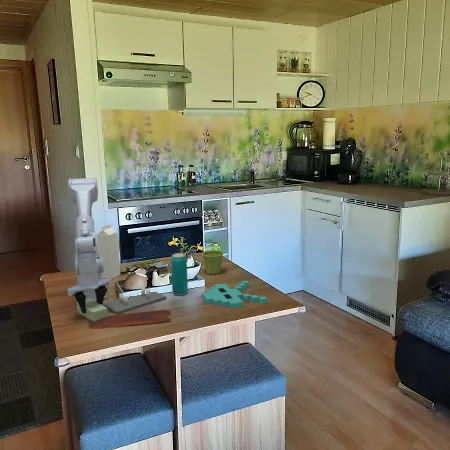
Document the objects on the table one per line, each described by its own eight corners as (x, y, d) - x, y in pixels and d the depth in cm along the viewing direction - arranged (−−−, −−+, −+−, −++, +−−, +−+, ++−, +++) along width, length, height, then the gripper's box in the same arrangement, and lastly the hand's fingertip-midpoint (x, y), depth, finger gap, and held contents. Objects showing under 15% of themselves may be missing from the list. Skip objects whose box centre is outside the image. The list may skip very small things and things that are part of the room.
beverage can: (183, 289, 174) (182, 252, 171) (190, 294, 169) (189, 255, 166) (169, 292, 171) (168, 254, 168) (176, 297, 166) (175, 258, 163)
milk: (100, 278, 189) (95, 226, 185) (108, 273, 195) (104, 223, 190) (112, 279, 187) (108, 227, 182) (120, 274, 193) (116, 224, 188)
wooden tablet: (170, 312, 155) (169, 307, 154) (172, 324, 145) (171, 319, 145) (89, 319, 150) (89, 314, 150) (85, 331, 141) (85, 326, 140)
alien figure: (246, 285, 178) (197, 292, 172) (246, 280, 177) (197, 287, 171) (266, 304, 159) (212, 312, 153) (266, 298, 159) (212, 306, 153)
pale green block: (77, 312, 155) (76, 302, 154) (91, 307, 158) (90, 298, 157) (93, 322, 146) (92, 312, 145) (107, 318, 149) (107, 308, 149)
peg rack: (102, 306, 159) (102, 295, 158) (151, 292, 172) (150, 282, 171) (117, 314, 152) (116, 303, 151) (166, 299, 165) (165, 288, 164)
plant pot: (208, 277, 187) (208, 257, 185) (198, 271, 195) (198, 252, 194) (228, 273, 192) (227, 254, 190) (217, 268, 200) (217, 249, 198)
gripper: (72, 279, 141) (76, 320, 144) (114, 269, 151) (117, 307, 154) (63, 274, 146) (66, 313, 149) (104, 264, 156) (107, 301, 159)
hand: (91, 310), depth 152 cm, fingers closed on pale green block, 5 cm apart
